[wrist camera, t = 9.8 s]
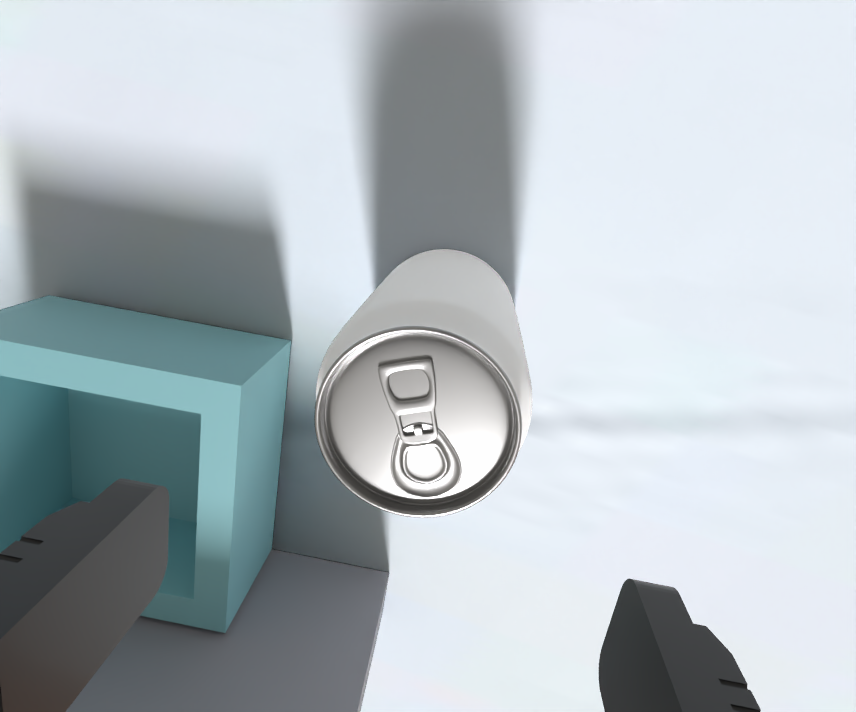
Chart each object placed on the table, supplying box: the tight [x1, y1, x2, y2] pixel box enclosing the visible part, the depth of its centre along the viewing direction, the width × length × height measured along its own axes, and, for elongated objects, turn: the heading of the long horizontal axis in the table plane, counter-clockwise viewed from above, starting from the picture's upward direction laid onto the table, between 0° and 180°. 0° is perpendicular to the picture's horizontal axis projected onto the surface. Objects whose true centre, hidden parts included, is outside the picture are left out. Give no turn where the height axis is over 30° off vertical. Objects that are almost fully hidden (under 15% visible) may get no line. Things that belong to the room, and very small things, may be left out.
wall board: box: [66, 549, 389, 712], centre depth 27 cm, size 3×18×12 cm, turn 81°
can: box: [315, 249, 532, 517], centre depth 21 cm, size 6×6×12 cm
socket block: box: [0, 295, 291, 633], centre depth 27 cm, size 12×12×6 cm
